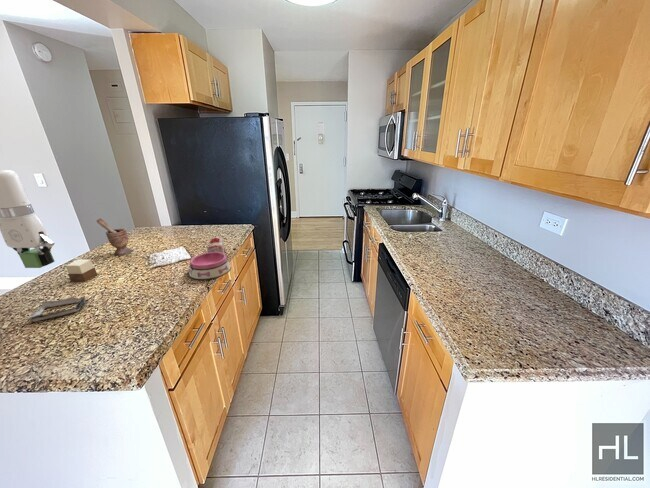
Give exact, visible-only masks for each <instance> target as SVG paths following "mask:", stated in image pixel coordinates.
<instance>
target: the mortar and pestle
mask: <svg viewBox="0 0 650 488" xmlns="http://www.w3.org/2000/svg"><path fill="white" fill-rule="evenodd" d="M96 223H97V224H98V225H99V226H100V227H102V228H104V229H105V230H107V231H106V232H105V235H106V237H107V240H108V242H109V244H110V245H111V246H112V247H114V248H116V249H115V251H114V255H115V256H118V257H119V256H124V255H125V256H126V255H129V254H130V253H132V250H131V248H129V247H128V246H127V245H128V243H129V236H128V233H127V229H126V228H112V227H111V226H110V225H109V224H108V223H107V222H106V220H104V219H103V218H98V219H97V220H96Z"/></svg>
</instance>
